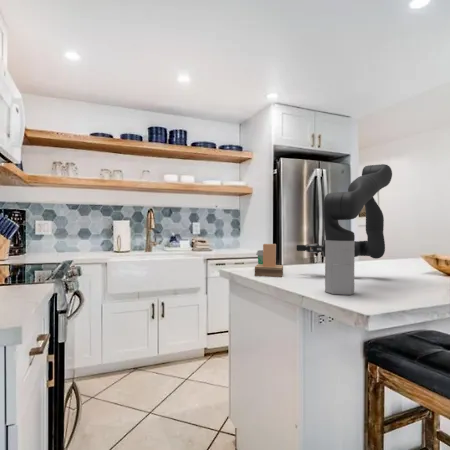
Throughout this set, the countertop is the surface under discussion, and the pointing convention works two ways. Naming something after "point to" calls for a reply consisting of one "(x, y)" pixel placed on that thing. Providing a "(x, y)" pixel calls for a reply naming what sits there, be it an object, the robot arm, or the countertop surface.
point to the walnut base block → (269, 271)
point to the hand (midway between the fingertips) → (296, 247)
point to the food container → (260, 256)
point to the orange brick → (269, 255)
